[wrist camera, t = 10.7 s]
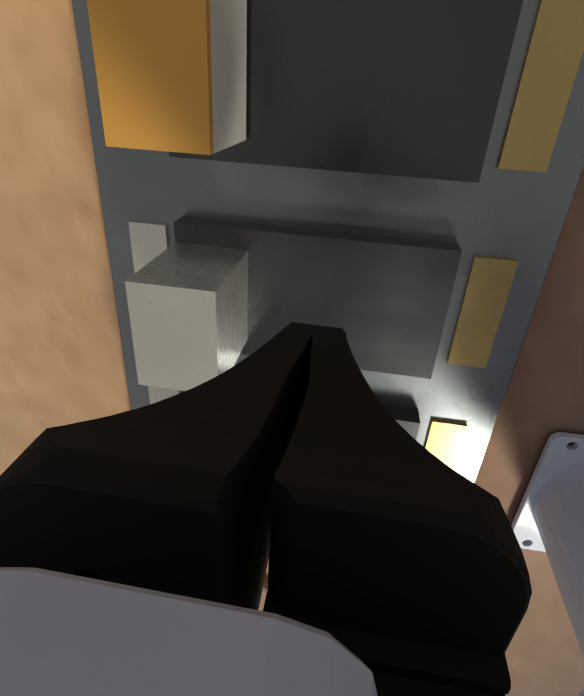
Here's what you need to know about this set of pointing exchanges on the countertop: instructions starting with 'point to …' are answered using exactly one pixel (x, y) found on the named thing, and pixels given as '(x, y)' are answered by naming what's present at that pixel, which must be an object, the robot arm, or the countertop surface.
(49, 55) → the countertop surface
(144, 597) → the robot arm
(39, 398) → the countertop surface
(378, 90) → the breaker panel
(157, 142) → the block
